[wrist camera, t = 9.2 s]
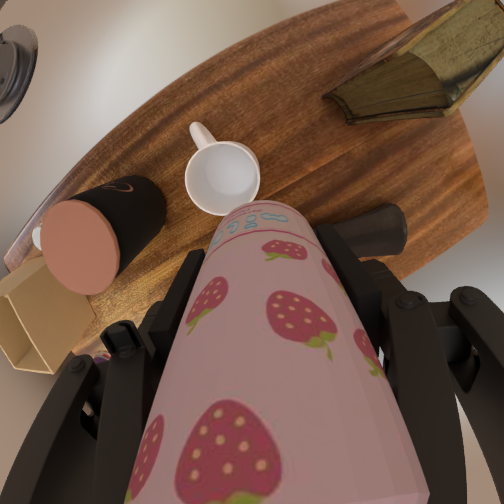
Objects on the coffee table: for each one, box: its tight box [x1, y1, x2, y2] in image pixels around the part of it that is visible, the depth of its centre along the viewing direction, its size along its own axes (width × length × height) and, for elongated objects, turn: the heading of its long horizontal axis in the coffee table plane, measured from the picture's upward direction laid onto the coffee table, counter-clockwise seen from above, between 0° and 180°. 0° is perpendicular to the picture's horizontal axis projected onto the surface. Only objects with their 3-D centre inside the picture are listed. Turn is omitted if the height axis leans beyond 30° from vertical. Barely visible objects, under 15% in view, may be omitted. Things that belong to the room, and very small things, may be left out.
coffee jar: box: [40, 175, 166, 295], centre depth 34 cm, size 11×11×18 cm
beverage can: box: [124, 200, 430, 504], centre depth 9 cm, size 6×6×15 cm
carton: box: [0, 256, 96, 374], centre depth 40 cm, size 15×13×18 cm
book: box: [321, 0, 504, 125], centre depth 22 cm, size 16×6×25 cm, turn 136°
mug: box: [185, 122, 260, 216], centre depth 34 cm, size 12×8×10 cm
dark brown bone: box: [312, 203, 407, 258], centre depth 40 cm, size 11×10×28 cm
